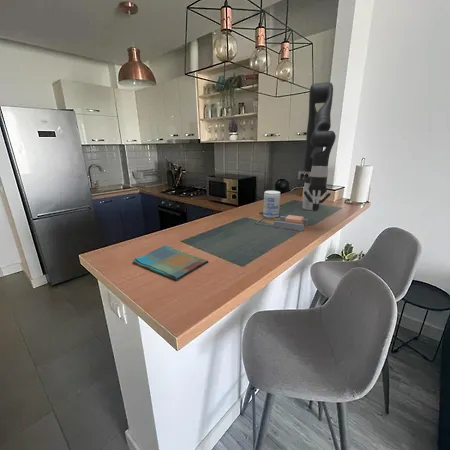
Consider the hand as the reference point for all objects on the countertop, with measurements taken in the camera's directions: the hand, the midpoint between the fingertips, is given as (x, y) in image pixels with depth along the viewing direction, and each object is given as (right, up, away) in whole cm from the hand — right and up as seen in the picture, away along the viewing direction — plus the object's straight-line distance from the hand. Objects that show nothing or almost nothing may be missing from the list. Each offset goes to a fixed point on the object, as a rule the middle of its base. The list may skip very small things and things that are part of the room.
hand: (315, 210), depth 124 cm
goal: (-21, -6, +15) cm, 26 cm away
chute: (-10, -7, +8) cm, 15 cm away
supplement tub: (-17, -2, +27) cm, 32 cm away
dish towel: (-65, -22, -30) cm, 75 cm away
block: (-9, -8, +8) cm, 14 cm away
